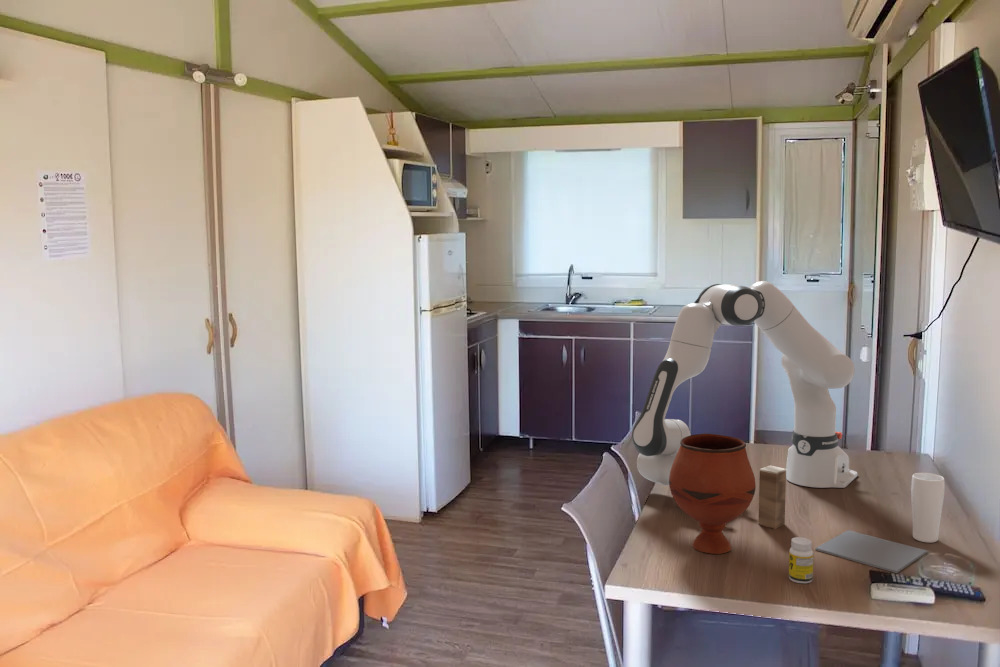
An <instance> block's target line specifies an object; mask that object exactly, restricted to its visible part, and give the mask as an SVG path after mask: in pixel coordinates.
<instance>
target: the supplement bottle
mask: <svg viewBox="0 0 1000 667" xmlns="http://www.w3.org/2000/svg"><path fill="white" fill-rule="evenodd" d="M790 545H791V547H790V548H789V551H788V554H789V555H788V578H789V580H790V581H792V582H794V583H796V584H797V583H798V584H810V583H812V582H813V581H814V580H813V577H814V551H813V549H812V548H813V544H812V540H811V539H809V538H806V537H801V536H800V537H799V536H796V537H792V538H791V543H790Z"/></svg>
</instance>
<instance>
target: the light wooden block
mask: <svg viewBox="0 0 1000 667" xmlns="http://www.w3.org/2000/svg"><path fill="white" fill-rule="evenodd" d="M758 484H759V486H758V487H759V488H758V521H757V522H758V525H760V526H762V527H766V528H771V529H774V530H776V529H778V528H780V527H782V526H784V525H785V524H786V522H785V521H786V520H785V519H786V491H787V490H786V489H787V488H786V486H787V478H786V468H783V467H779V466H774V465H771V464H770V465H769V464H768V465H767V466H764V467H762V468H759V482H758Z"/></svg>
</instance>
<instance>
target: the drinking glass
mask: <svg viewBox="0 0 1000 667" xmlns="http://www.w3.org/2000/svg"><path fill="white" fill-rule="evenodd" d="M910 484H911V487H910V488H911V491H910V493H911V494H910V497H911V516H912V537H913V539H915V541H918V542H922V543H926V544H927V543H931V544H932V543H936V542H938V540H939V536H940V535H939V533H940V532H939V531H940V523H941V518H942V517H941V516H942V512H943V506H944V497H945V478H944V477H943V476H942V475H939V474H936V473H931V472H915V473H913V474H912V476H911V483H910Z"/></svg>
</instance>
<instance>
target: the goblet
mask: <svg viewBox="0 0 1000 667" xmlns="http://www.w3.org/2000/svg"><path fill="white" fill-rule="evenodd" d="M680 444H681V446H680V448H679V450H678V453H677V455H676V457H675V459H674V462H673V464H672V467H671V470H670V475H669V485H668V487H669V490H670V493H671V496H672V498H673V500H674V501H675V503H676V504H677V506H678V507H679V508H680V509H681V510H682V512H684V513H685V514H687V515H688V516H689V517H691V518H692V519H693V520H695V521H697V522H699V523H698V525H699V527H700V528H701V529H702V530H701V532H699V534H698V535H697V536H696V537H695V539H694V540H693V542H692V544H691V545H692V547H693V549H694V550H696V551H698V552H701V553H706V554H712V555H721V554H724V553H725V554H726V553H728V552H730V551H732V545H731V543H730V542H729V539H727V537H726V536H725V534H724V533H723V531H724V530H725V529H726V524H728V523H730V522H732V521H734V520H736V519H737V518H738V517H740V516H741V515H742V514H743V513H745V511H747V509H748V508H749V507H750V505H751V503H752V501H753V499H754V497H755V493H756V486H757V485H756V478H755V474H754V473H755V472H754V471H753V469H752V467H751V463H750V460H749V458H748V454H747V453H748V452H747V448H746V447H747V444H746V442H745V441H744V440H742V439H740V438H738V437H735V436H730V435H729V436H728V435H723V434H717V433H716V434H715V433H707V432H706V433H705V432H704V433H703V432H702V433H697V434H691V435H690V436H687V437H685V438H683V439H682V440H681V442H680Z"/></svg>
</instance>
